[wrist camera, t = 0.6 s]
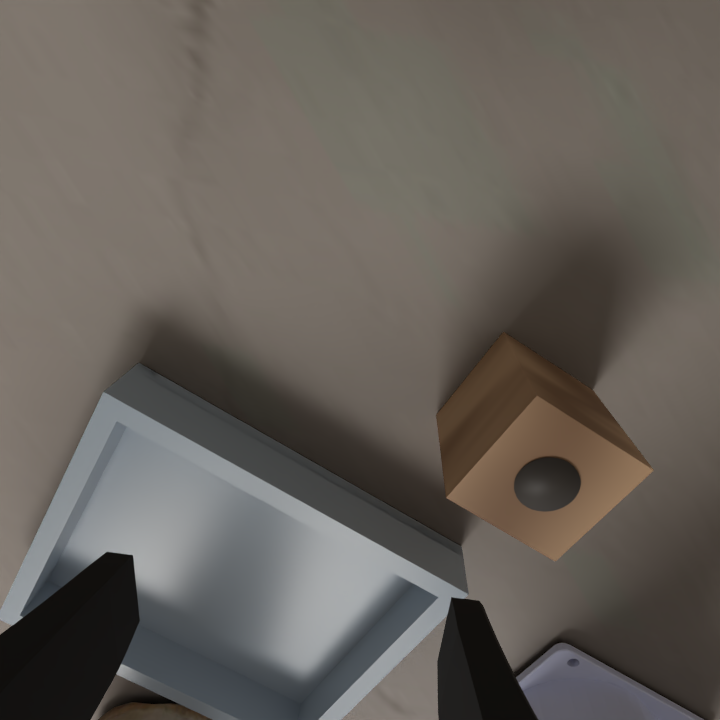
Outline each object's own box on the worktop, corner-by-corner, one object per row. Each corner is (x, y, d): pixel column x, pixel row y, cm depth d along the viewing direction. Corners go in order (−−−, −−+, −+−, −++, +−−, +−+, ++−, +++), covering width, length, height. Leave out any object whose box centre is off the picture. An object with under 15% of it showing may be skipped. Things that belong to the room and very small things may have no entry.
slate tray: (461, 546, 22) (468, 594, 19) (308, 706, 26) (299, 760, 24) (138, 362, 20) (103, 391, 17) (35, 573, 24) (-4, 618, 22)
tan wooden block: (592, 389, 19) (654, 471, 14) (520, 465, 20) (555, 562, 15) (503, 331, 18) (537, 396, 13) (436, 414, 20) (446, 498, 15)
